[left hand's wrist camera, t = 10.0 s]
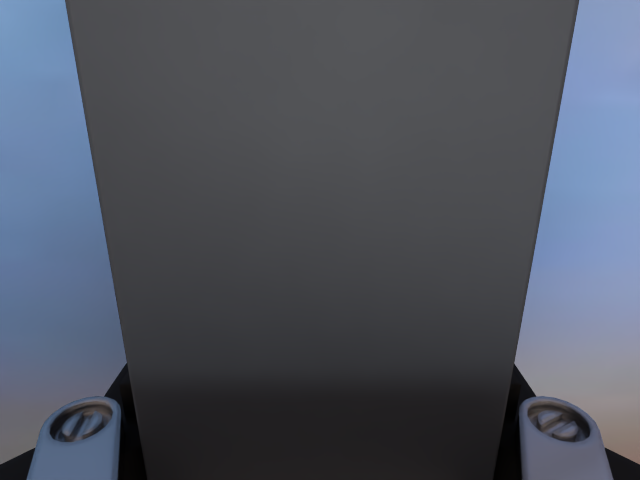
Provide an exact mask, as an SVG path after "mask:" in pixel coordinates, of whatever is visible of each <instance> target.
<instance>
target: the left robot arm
mask: <svg viewBox="0 0 640 480" xmlns="http://www.w3.org/2000/svg"><path fill="white" fill-rule="evenodd" d="M0 480H147V476H146V470H145V464H144V458H143V452H142V447H141V441H140V435H139V429H138V423H137V417H136V412H135V406H134V400H133V394H132V388H131V382H130V376H129V371H128V365H127V363H126V365H125V366H124V368H123V369H122V371H121V372H120V374H119V375H118V376H117V378H116V379H115V381H114V382H113V384H112V385H111V387H110V388H109V390H108V391H107V393H106V394H105V396H104V397H100V396H95V397H88V398H83V399H80V400H77V401H74V402H71V403H69V404H67V405H65V406H63V407H61V408H60V409H59V410H57V411H56V412H54V413H53V414H52V415H51V416H50V417H49V418H48V419H47V420H46V421H45V422H44V424H43V426H42V428H41V430H40V434H39V437H38V441H37V445H36V448H34V449H32V450H30V451H27V452H25V453H23V454H21V455H19V456H17V457H15V458H13V459H11V460H9V461H7V462H5V463H3V464H1V465H0ZM493 480H640V465H639V464H637V463H635V462H633V461H631V460H629V459H627V458H625V457H623V456H621V455H619V454H617V453H615V452H613V451H611V450H609V449H607V448H605V447H604V445H603V441H602V437H601V434H600V430H599V428H598V426H597V424H596V422H595V421H594V420H593V419H592V418H591V417H590V416H589V415H588V414H587V413H586V412H584V411H583V410H581V409H580V408H579V407H577V406H575V405H573V404H571V403H569V402H566V401H563V400H560V399H557V398H552V397H545V396H540V397H536V395H535V394H534V392H533V391H532V389H531V388H530V386H529V385H528V383H527V382H526V380H525V379H524V377H523V376H522V374H521V373H520V371H519V370H518V369H517V367H516V366H515V364H514V366H513V372H512V378H511V383H510V389H509V394H508V400H507V405H506V411H505V417H504V422H503V428H502V433H501V439H500V444H499V450H498V456H497V461H496V467H495V472H494V478H493Z"/></svg>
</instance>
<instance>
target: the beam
mask: <svg viewBox="0 0 640 480" xmlns="http://www.w3.org/2000/svg"><path fill="white" fill-rule="evenodd" d="M65 3H66V8H67V14H68V20H69V26H70V32H71V38H72V43H73V49H74V55H75V61H76V67H77V73H78V79H79V84H80V90H81V96H82V102H83V108H84V114H85V119H86V125H87V131H88V137H89V143H90V149H91V154H92V160H93V166H94V172H95V178H96V184H97V190H98V195H99V201H100V207H101V213H102V219H103V225H104V230H105V236H106V242H107V248H108V254H109V260H110V265H111V271H112V277H113V283H114V289H115V295H116V301H117V306H118V312H119V318H120V324H121V330H122V336H123V341H124V347H125V353H126V359H127V365H128V371H129V376H130V382H131V388H132V394H133V400H134V406H135V412H136V417H137V423H138V429H139V435H140V441H141V447H142V452H143V458H144V464H145V470H146V476H147V480H493V478H494V472H495V467H496V461H497V456H498V450H499V444H500V439H501V433H502V428H503V422H504V417H505V411H506V405H507V400H508V394H509V389H510V383H511V378H512V372H513V366H514V361H515V355H516V350H517V344H518V338H519V333H520V327H521V322H522V316H523V311H524V305H525V299H526V294H527V288H528V283H529V277H530V272H531V266H532V260H533V255H534V249H535V244H536V238H537V233H538V227H539V221H540V216H541V210H542V205H543V199H544V193H545V188H546V182H547V177H548V171H549V166H550V160H551V154H552V149H553V143H554V138H555V132H556V127H557V121H558V115H559V110H560V104H561V99H562V93H563V88H564V82H565V76H566V71H567V65H568V60H569V54H570V48H571V43H572V37H573V32H574V26H575V21H576V15H577V9H578V4H579V0H65Z"/></svg>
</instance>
